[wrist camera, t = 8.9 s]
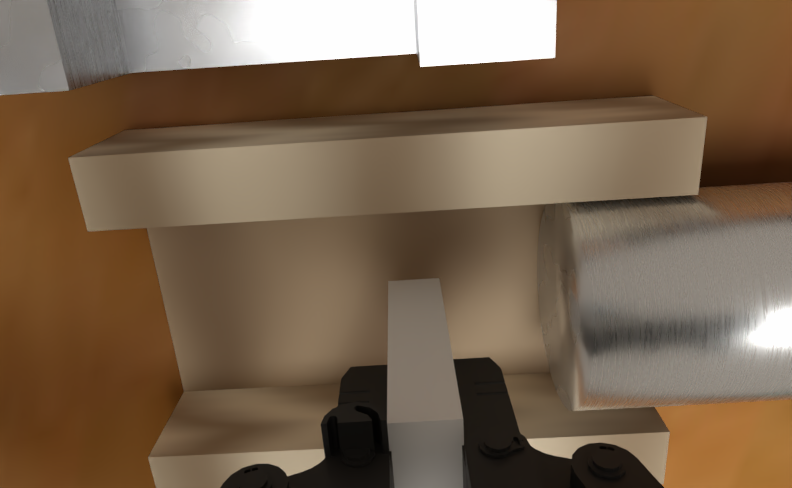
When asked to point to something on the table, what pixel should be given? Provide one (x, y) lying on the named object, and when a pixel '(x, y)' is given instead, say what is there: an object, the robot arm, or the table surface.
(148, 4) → the cradle
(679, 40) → the table surface
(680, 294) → the axle
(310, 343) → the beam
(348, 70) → the table surface
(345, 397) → the robot arm
